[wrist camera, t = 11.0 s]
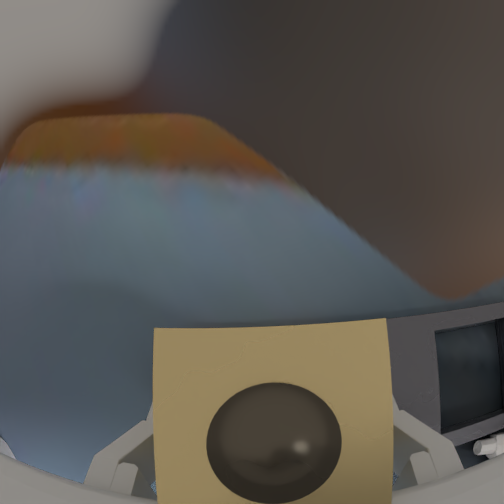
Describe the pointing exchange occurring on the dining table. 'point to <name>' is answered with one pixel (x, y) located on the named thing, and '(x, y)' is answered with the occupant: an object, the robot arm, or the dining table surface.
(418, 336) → the peg insertion board
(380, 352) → the tan square peg
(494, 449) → the purple flat blob
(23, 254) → the dining table surface
